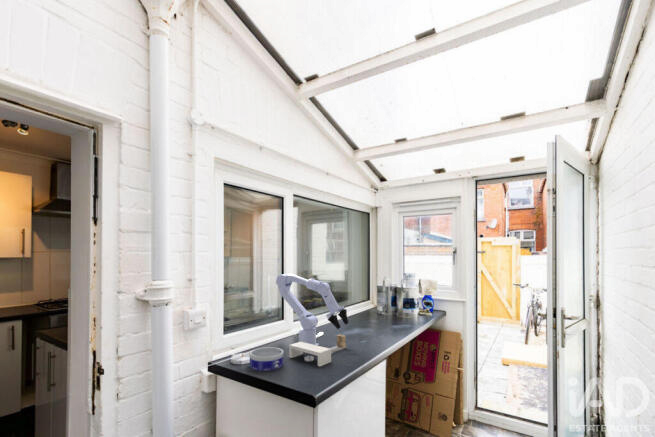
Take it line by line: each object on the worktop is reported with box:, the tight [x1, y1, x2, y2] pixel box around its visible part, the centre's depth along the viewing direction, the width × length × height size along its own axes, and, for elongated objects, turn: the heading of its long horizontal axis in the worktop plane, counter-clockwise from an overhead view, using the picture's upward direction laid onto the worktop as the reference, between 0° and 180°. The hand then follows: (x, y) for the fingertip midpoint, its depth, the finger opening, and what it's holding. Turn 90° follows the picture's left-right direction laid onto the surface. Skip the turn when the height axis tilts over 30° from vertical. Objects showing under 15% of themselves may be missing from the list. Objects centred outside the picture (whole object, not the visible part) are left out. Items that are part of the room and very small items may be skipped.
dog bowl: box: [249, 346, 284, 372], centre depth 149 cm, size 15×15×6 cm
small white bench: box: [288, 341, 332, 367], centre depth 156 cm, size 20×8×6 cm, turn 51°
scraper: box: [313, 334, 347, 358], centre depth 168 cm, size 5×21×6 cm, turn 141°
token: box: [304, 355, 315, 363], centre depth 155 cm, size 4×4×2 cm
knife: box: [316, 331, 324, 340], centre depth 202 cm, size 30×2×8 cm
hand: (343, 326), depth 173 cm, fingers open, 7 cm apart
